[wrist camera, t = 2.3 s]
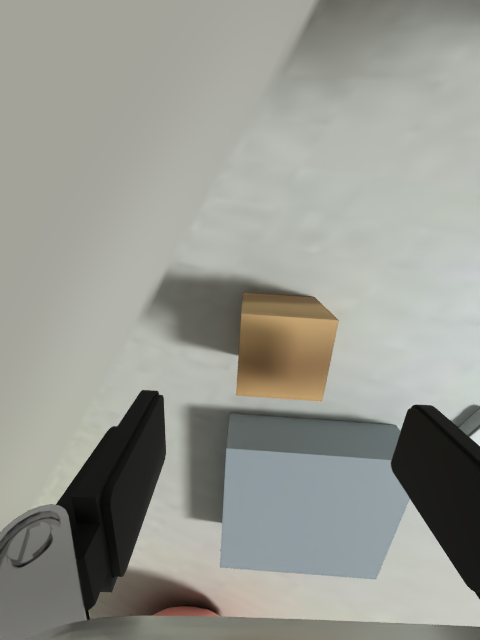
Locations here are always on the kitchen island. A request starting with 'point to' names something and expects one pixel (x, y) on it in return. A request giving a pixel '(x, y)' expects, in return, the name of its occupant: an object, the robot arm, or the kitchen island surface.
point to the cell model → (185, 611)
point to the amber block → (284, 347)
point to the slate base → (309, 496)
